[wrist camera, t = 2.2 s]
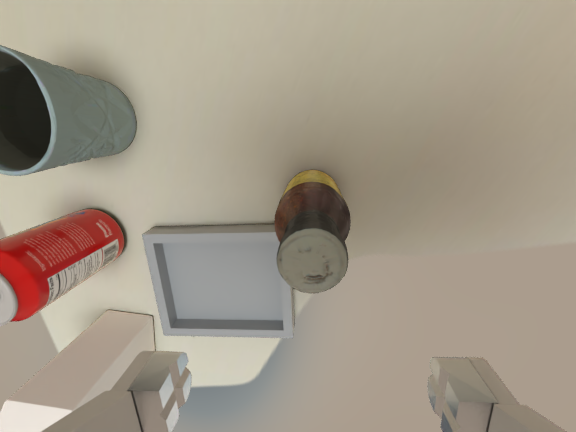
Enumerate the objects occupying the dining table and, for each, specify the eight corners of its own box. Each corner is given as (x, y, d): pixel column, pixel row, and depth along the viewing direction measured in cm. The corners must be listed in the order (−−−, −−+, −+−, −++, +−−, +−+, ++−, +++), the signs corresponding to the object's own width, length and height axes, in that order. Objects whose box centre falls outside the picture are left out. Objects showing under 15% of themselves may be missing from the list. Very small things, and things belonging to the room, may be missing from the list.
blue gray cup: (113, 176, 36) (21, 199, 25) (46, 118, 35) (-84, 115, 23) (158, 115, 34) (77, 109, 22) (87, 49, 32) (-38, 7, 21)
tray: (289, 223, 36) (287, 232, 33) (294, 323, 41) (293, 338, 38) (154, 226, 38) (141, 234, 35) (173, 321, 42) (163, 335, 40)
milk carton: (108, 308, 43) (-43, 442, 25) (153, 315, 42) (34, 455, 24) (112, 347, 45) (-22, 495, 27) (156, 353, 45) (49, 507, 27)
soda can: (136, 256, 40) (36, 329, 25) (86, 263, 41) (-36, 337, 26) (116, 202, 37) (-6, 249, 23) (64, 211, 39) (-83, 261, 24)
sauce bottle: (325, 225, 36) (337, 335, 17) (279, 206, 36) (238, 297, 17) (347, 176, 34) (389, 242, 15) (298, 157, 34) (278, 197, 15)
